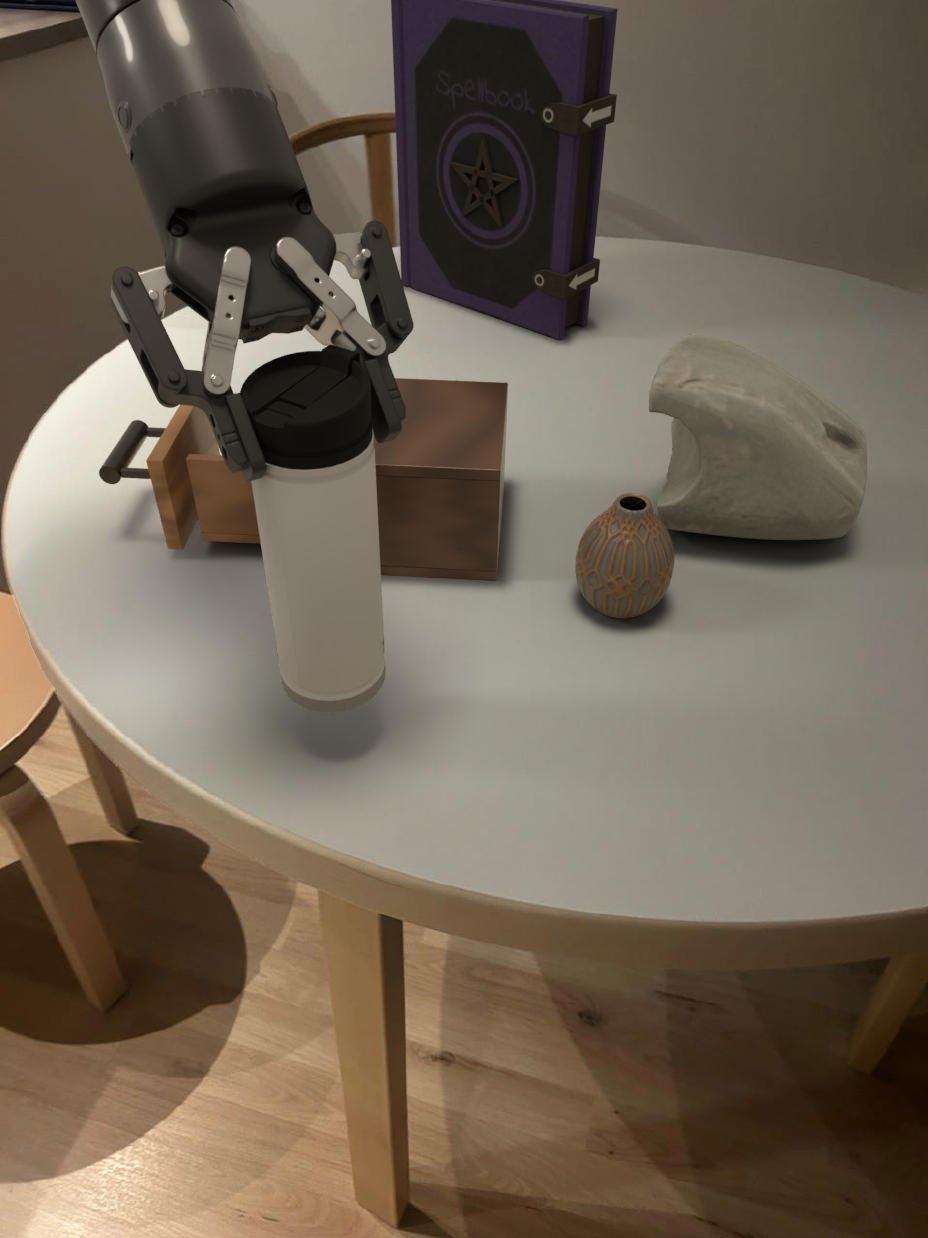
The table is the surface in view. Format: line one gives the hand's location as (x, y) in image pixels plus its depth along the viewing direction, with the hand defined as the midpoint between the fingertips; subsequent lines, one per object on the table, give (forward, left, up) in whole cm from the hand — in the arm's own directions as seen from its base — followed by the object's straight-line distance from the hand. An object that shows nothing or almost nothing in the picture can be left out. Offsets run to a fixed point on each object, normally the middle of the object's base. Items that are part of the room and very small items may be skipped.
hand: (324, 455), depth 46 cm
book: (+5, +67, -21) cm, 71 cm away
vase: (+17, +15, -21) cm, 31 cm away
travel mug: (-1, +1, -17) cm, 17 cm away
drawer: (-12, +23, -20) cm, 33 cm away
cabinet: (0, +23, -21) cm, 31 cm away
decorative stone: (+27, +26, -21) cm, 43 cm away
